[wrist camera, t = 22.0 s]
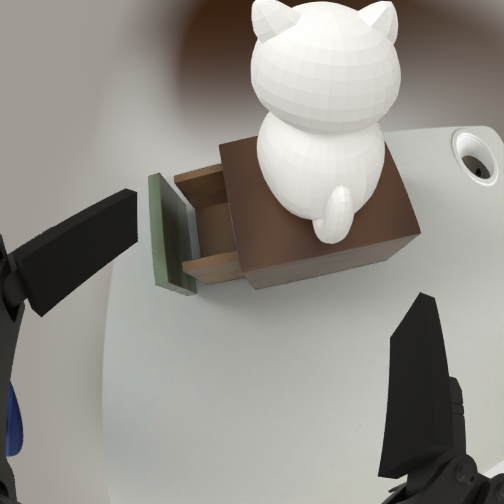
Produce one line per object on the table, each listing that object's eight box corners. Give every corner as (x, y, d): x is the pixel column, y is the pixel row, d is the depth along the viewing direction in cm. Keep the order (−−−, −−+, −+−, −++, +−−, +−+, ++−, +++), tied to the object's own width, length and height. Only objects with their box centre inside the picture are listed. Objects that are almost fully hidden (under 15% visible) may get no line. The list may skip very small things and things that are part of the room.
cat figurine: (355, 122, 24) (384, -23, 9) (388, 255, 20) (511, 143, 6) (257, 128, 25) (226, -23, 10) (269, 267, 21) (228, 144, 7)
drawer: (176, 297, 31) (142, 287, 23) (167, 209, 33) (137, 179, 26) (313, 270, 30) (321, 250, 22) (291, 180, 32) (290, 140, 25)
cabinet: (255, 289, 31) (240, 273, 21) (236, 191, 34) (218, 144, 25) (386, 260, 30) (421, 233, 20) (356, 168, 33) (373, 118, 24)
